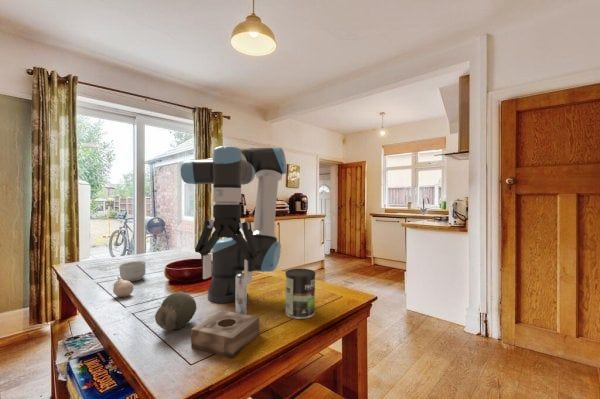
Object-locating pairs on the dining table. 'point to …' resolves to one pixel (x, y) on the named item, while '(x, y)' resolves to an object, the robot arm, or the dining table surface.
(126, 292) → the garlic bulb
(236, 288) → the pin
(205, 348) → the bore block
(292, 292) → the coffee can
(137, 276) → the teacup
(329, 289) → the dining table surface
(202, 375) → the dining table surface
